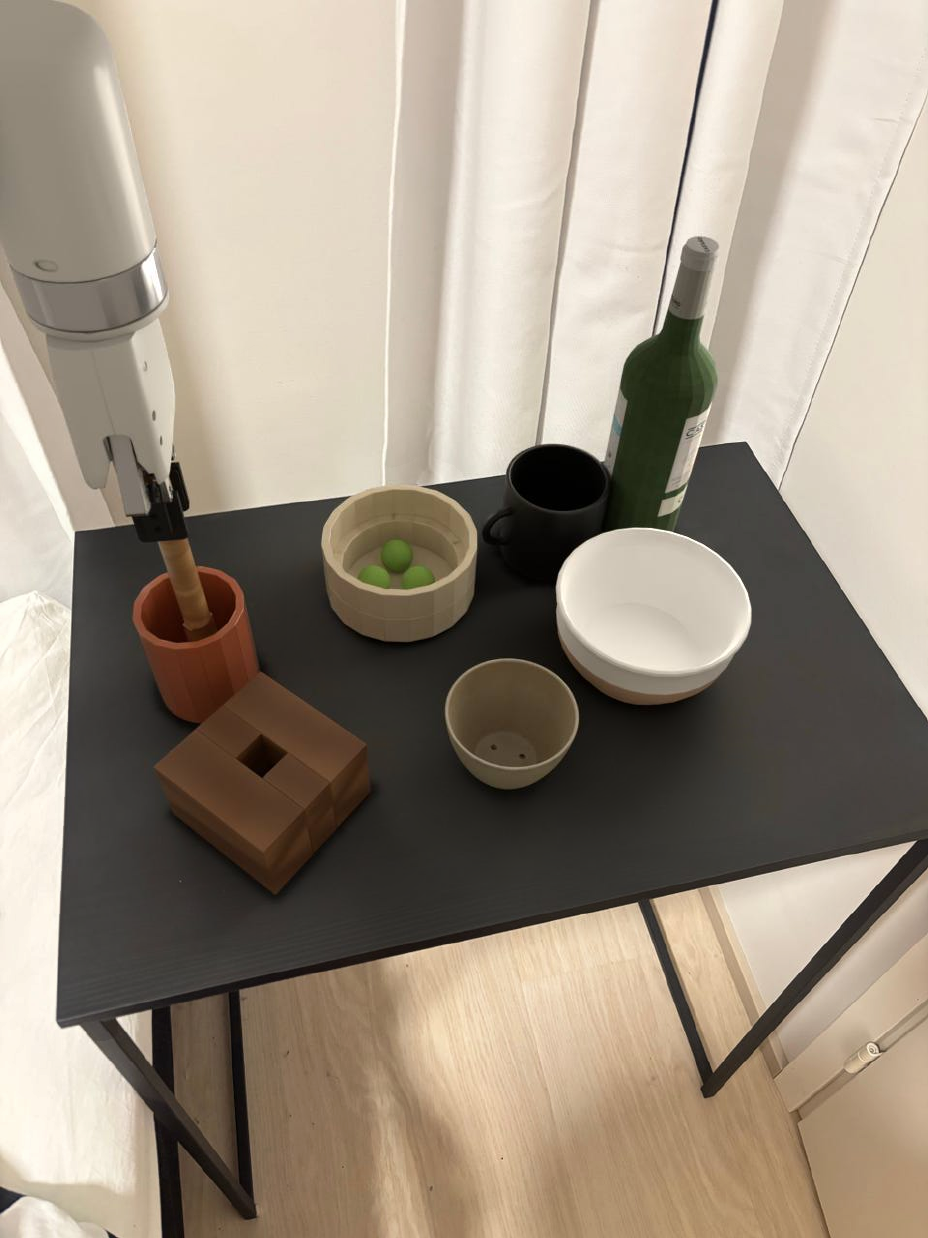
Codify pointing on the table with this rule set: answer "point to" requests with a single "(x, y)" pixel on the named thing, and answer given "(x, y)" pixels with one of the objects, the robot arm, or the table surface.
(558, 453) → the mug
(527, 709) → the flower pot
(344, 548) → the mixing bowl
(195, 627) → the wooden dowel peg
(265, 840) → the holder
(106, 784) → the table surface
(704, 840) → the table surface
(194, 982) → the table surface
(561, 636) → the bowl
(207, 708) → the crock
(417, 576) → the pea
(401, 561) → the pea
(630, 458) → the wine bottle
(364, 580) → the pea
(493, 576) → the table surface
